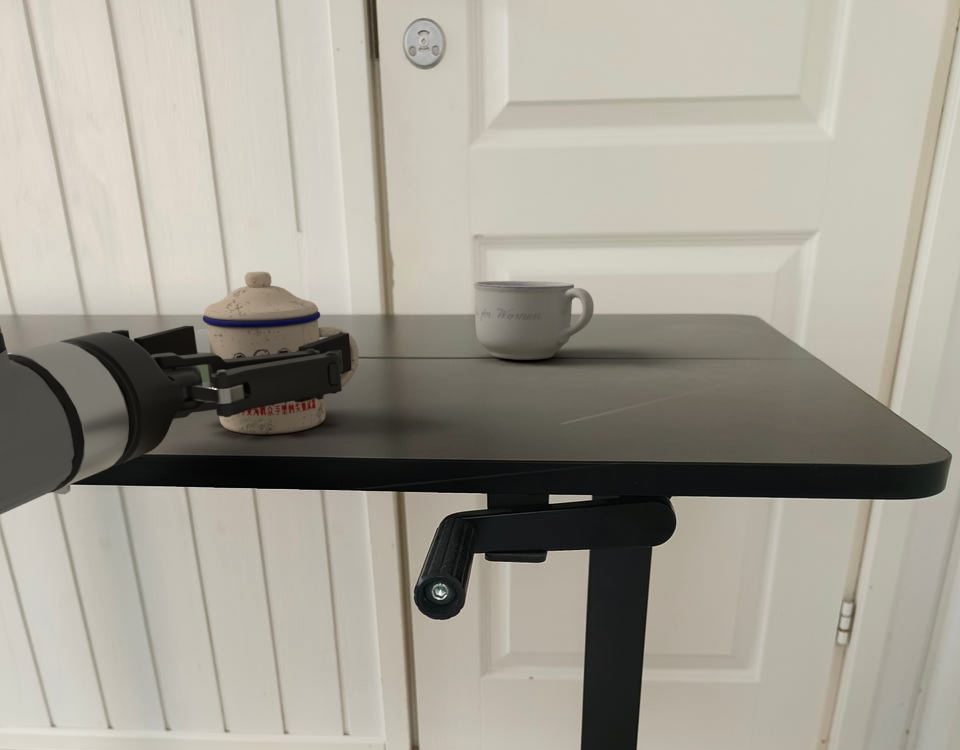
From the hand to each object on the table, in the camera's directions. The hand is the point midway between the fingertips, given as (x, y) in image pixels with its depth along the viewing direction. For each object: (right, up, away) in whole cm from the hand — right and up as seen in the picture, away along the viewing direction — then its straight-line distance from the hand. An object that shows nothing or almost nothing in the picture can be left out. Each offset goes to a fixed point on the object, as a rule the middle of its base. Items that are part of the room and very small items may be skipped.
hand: (267, 347), depth 71 cm
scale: (-10, +5, +24) cm, 27 cm away
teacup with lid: (+1, -5, +5) cm, 7 cm away
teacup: (+23, +8, +30) cm, 38 cm away
